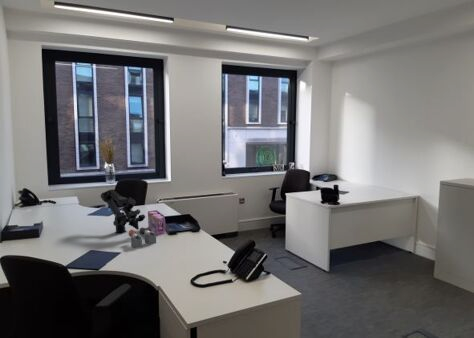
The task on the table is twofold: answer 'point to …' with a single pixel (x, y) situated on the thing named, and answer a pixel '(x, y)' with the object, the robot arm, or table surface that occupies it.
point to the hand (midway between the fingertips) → (138, 229)
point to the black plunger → (143, 231)
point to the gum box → (156, 222)
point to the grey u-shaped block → (150, 238)
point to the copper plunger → (132, 233)
